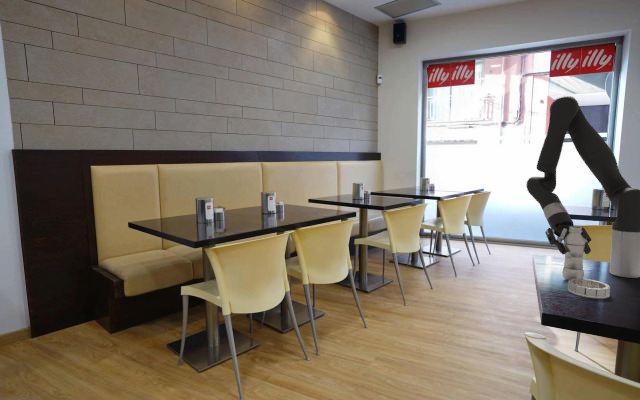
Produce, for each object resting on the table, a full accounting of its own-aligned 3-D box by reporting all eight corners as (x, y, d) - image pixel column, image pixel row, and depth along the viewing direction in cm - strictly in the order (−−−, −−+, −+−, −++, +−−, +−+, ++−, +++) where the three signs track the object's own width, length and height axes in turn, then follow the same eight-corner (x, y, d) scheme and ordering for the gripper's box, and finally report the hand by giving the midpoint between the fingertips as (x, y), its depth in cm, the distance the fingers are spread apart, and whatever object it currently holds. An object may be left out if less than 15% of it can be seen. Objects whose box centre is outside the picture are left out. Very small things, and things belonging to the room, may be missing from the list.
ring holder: (577, 284, 133) (578, 276, 133) (616, 294, 124) (616, 285, 123) (561, 290, 127) (561, 282, 127) (599, 301, 118) (600, 292, 117)
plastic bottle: (587, 284, 134) (590, 228, 132) (566, 283, 135) (569, 228, 133) (578, 278, 140) (581, 225, 138) (558, 277, 142) (561, 225, 140)
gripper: (543, 211, 143) (562, 248, 132) (581, 210, 143) (602, 247, 133) (535, 223, 148) (552, 258, 138) (570, 222, 149) (590, 258, 138)
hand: (576, 253), depth 135 cm, fingers open, 8 cm apart
